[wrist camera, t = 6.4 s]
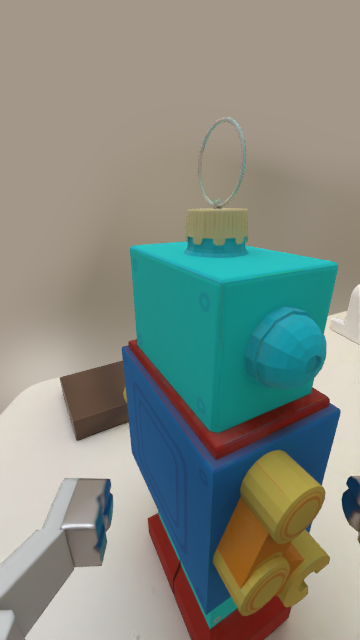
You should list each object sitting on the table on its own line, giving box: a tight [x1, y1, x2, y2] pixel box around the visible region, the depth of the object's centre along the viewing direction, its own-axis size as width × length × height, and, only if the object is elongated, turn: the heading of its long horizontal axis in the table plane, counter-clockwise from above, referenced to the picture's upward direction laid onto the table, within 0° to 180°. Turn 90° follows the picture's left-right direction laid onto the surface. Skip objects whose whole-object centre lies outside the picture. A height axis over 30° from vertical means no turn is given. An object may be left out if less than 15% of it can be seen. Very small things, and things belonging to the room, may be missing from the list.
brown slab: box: [60, 361, 129, 440], centre depth 38 cm, size 24×9×2 cm, turn 119°
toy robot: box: [122, 117, 340, 640], centre depth 14 cm, size 12×6×25 cm, turn 28°
